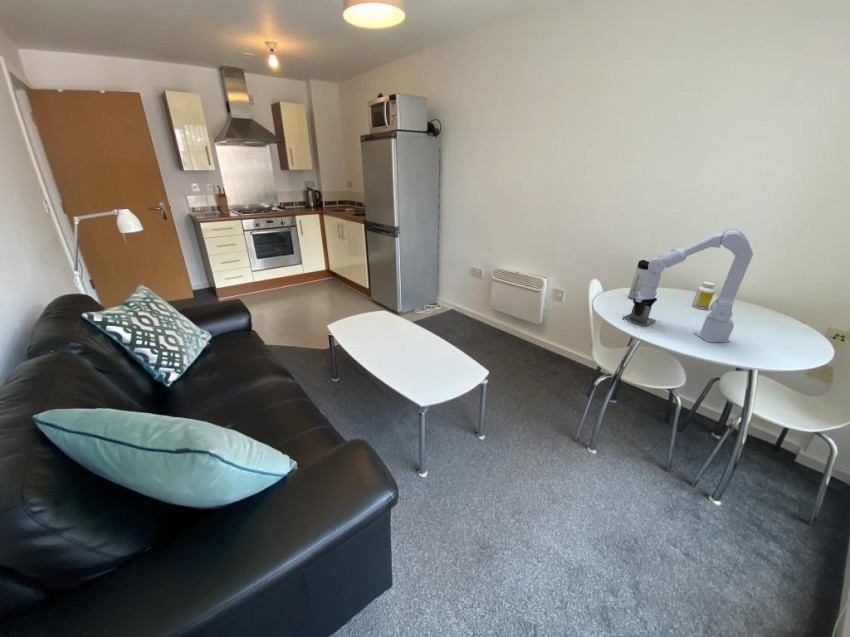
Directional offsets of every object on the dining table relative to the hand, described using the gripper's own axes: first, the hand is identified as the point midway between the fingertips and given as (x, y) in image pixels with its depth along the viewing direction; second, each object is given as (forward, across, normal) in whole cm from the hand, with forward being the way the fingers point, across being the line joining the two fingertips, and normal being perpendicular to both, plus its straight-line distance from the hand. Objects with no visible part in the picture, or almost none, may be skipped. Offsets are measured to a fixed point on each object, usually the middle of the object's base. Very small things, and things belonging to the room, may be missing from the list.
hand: (640, 313), depth 159 cm
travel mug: (+4, -27, -15) cm, 32 cm away
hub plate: (+3, 0, 0) cm, 3 cm away
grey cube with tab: (+2, 0, 0) cm, 2 cm away
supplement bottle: (+4, -45, +8) cm, 46 cm away
